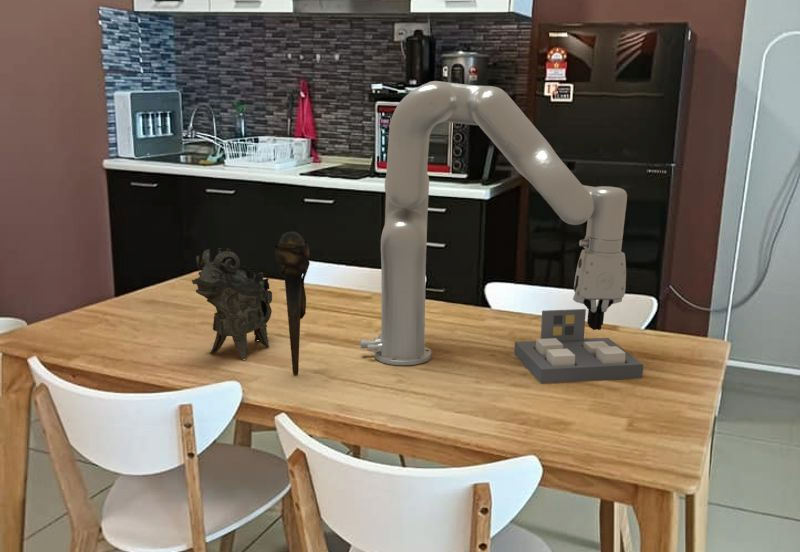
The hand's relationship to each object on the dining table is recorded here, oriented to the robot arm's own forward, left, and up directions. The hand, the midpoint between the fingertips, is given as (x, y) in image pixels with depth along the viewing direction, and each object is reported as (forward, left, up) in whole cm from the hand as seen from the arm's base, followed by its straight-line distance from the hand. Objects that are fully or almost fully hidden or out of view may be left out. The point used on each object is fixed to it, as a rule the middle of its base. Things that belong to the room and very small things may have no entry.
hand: (594, 328), depth 180 cm
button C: (-10, 0, -5) cm, 11 cm away
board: (-5, -2, -8) cm, 9 cm away
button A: (-10, -7, -5) cm, 13 cm away
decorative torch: (-65, +1, -8) cm, 65 cm away
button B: (+1, -7, -5) cm, 9 cm away
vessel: (-77, +18, -8) cm, 79 cm away
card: (-5, +6, -5) cm, 9 cm away
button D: (+1, 0, -6) cm, 6 cm away
